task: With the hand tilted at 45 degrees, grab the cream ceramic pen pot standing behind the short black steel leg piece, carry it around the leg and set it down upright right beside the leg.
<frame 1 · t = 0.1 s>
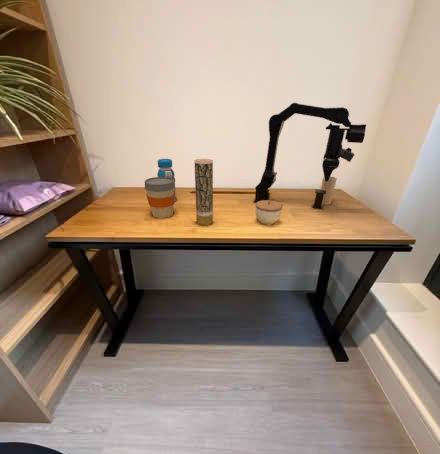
hand: (326, 178, 113), 15 cm above the table, tool pointing down, fingers open, 9 cm apart
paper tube: (204, 222, 105), on the table
pen pot: (324, 202, 129), on the table
trinket box: (266, 222, 107), on the table
beverage bottle: (168, 201, 128), on the table
reusable coffee cup: (162, 214, 113), on the table
leg piece: (317, 207, 123), on the table
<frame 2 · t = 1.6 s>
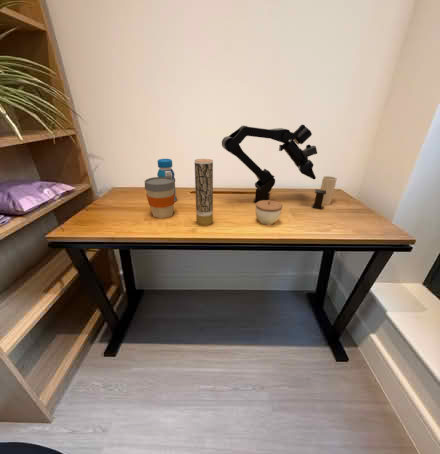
hand: (313, 176, 123), 13 cm above the table, tool tilted 45°, fingers open, 9 cm apart
nothing on the table moved.
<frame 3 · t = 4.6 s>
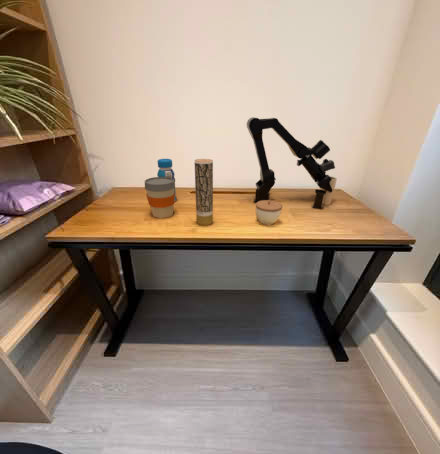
hand: (330, 189, 126), 7 cm above the table, tool tilted 45°, fingers closed on pen pot, 6 cm apart
pen pot: (324, 202, 129), on the table, touching gripper
everything else where it was.
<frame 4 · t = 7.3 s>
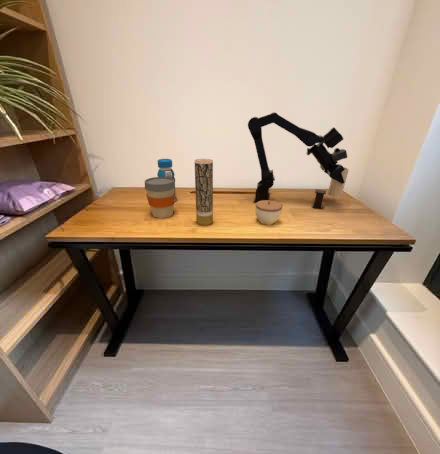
hand: (341, 181, 118), 12 cm above the table, tool tilted 45°, fingers closed on pen pot, 6 cm apart
pen pot: (334, 194, 122), point 6 cm above the table, touching gripper
everything else where it was.
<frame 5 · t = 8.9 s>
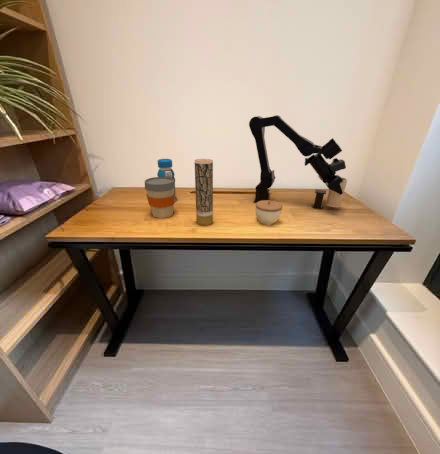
hand: (339, 191, 116), 9 cm above the table, tool tilted 45°, fingers closed on pen pot, 6 cm apart
pen pot: (333, 204, 120), point 2 cm above the table, touching gripper
everything else where it was.
when the fingers open (7 cm above the table, at t = 10.1 s): pen pot stays where it is, on the table.
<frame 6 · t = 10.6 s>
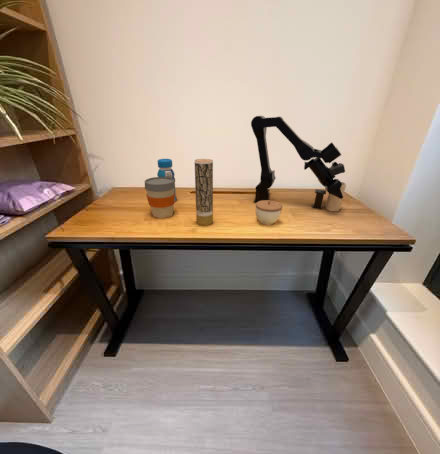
hand: (339, 194, 117), 7 cm above the table, tool tilted 45°, fingers open, 9 cm apart
pen pot: (332, 208, 121), on the table
everything else where it was.
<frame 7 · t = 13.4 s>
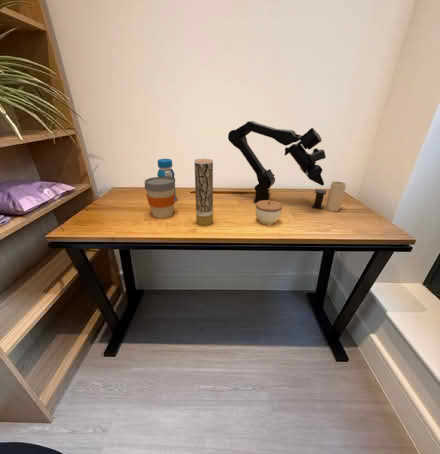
hand: (320, 182, 115), 13 cm above the table, tool tilted 45°, fingers open, 9 cm apart
nothing on the table moved.
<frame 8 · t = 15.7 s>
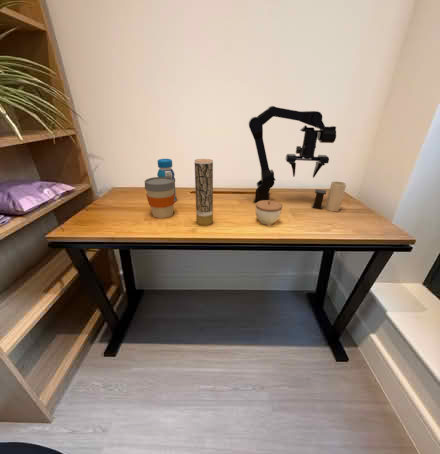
hand: (303, 177, 121), 13 cm above the table, tool pointing down, fingers open, 9 cm apart
nothing on the table moved.
at the end: pen pot 0.8 cm from the target spot on the table beside the leg piece, on the table; pen pot tilted 0°; the gripper is holding nothing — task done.
